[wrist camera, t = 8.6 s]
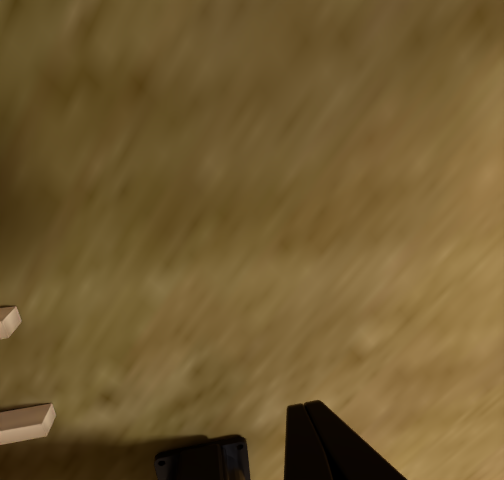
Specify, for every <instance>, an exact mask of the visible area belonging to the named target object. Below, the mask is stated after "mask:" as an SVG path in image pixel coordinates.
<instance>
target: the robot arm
mask: <svg viewBox="0 0 504 480" xmlns="http://www.w3.org/2000/svg"><path fill="white" fill-rule="evenodd" d="M154 465H155V470H156V474H157V478H158V480H250V470H249V461H248V451H247V443H246V439H245V438H244V437H237V438H232V439H227V440H222V441H217V442H212V443H207V444H202V445H197V446H192V447H187V448H182V449H177V450H172V451H167V452H163V453H159V454H157V455H156V456H155V462H154ZM284 480H407V479H406V478H405V477H404V476H403V475H402V474H401V473H399V472H398V471H397V470H396V469H395V468H394V467H393V466H392V465H391V464H390V463H388V462H387V461H386V460H385V459H384V458H383V457H382V456H381V455H380V454H379V453H377V452H376V451H375V450H374V449H373V448H372V447H371V446H370V445H369V444H368V443H367V442H365V441H364V440H363V439H362V438H361V437H360V436H359V435H358V434H357V433H356V432H354V431H353V430H352V429H351V428H350V427H349V426H348V425H347V424H346V423H345V422H343V421H342V420H341V419H340V418H339V417H338V416H337V415H336V414H335V413H334V412H332V411H331V410H330V409H329V408H328V407H327V406H326V405H325V404H324V403H323V402H321V401H319V400H315V401H310V402H306V403H304V405H303V404H301V403H300V404H294V405H289V406H288V407H287V416H286V441H285V465H284Z"/></svg>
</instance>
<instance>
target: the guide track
mask: <svg viewBox="0 0 504 480" xmlns="http://www.w3.org/2000/svg"><path fill="white" fill-rule="evenodd" d="M21 322H22V320H21V318H20V315H19V312H18V310H17V307H16V306H13V307H6V308H0V339H4V338H9V337H10V335H11V334H12V333H13V332H14V331H15V329H16V328H17V327H18V326H19V324H20V323H21ZM55 417H56V413H55V411H54V408H53V405H52V403H51V404H45V405H39V406H34V407H28V408H22V409H17V410H11V411H5V412H0V445H3V444H8V443H13V442H19V441H24V440H29V439H35V438H40V437H45V436H47V435H48V432H49V430H50V428H51V426H52V424H53V421H54V419H55Z"/></svg>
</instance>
